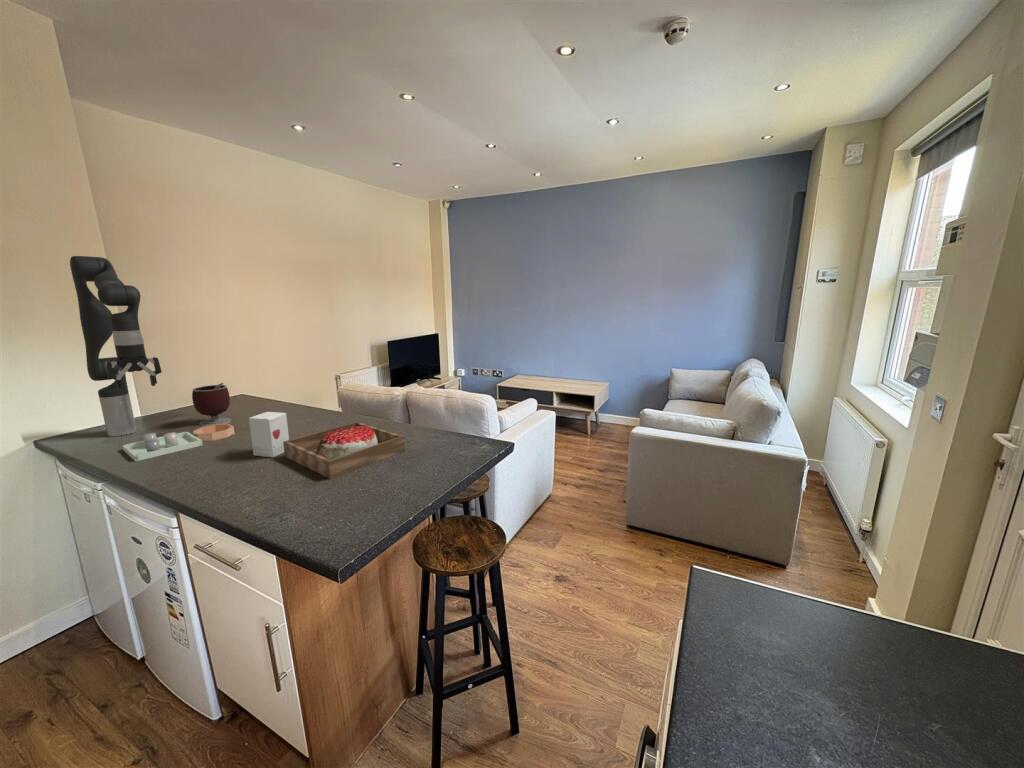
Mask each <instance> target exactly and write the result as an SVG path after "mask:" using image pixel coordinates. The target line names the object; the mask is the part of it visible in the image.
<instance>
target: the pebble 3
mask: <svg viewBox="0 0 1024 768" xmlns="http://www.w3.org/2000/svg"><path fill="white" fill-rule="evenodd" d="M163 436H164V440H165V445H166V448H169V447H173V446H177V445H178V440H177V431H176V432H174V431H173V432H167V433H164V434H163Z"/></svg>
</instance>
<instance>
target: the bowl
mask: <svg viewBox="0 0 1024 768" xmlns="http://www.w3.org/2000/svg"><path fill="white" fill-rule="evenodd" d="M192 435H194V436H196V437H197V438H199V439H201V440H202V442H210V441H217V440H221V439H226V438H229V437H230V436H231V435H235V428H234V425H232V424H230V423H227V424H215V425H214V424H211V425H206V426H202V427H201V426H200V427H199V428H197V429H194V430H193V431H192Z"/></svg>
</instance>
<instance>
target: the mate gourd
mask: <svg viewBox="0 0 1024 768" xmlns="http://www.w3.org/2000/svg"><path fill="white" fill-rule="evenodd" d="M191 395H192V396H191V398H192V404H193V406H194V409H195V411H196V412H198V413H199V414H200V415H201V416H202V415H203V416H208V417H210V419H207V420H206V419H205V420H202V421H201V422H199V423H198V425H199V427H200V428H201V427H205V426H210V425H215V424H230V423H231V422H232V419H231V418H229V417H219V415H221V414H223V413H225V412H226V411H227V410H228V409H229V407H230V404H231V403H230V402H231V397H230V392H229V389H228V387H227V385H225V384H224V382H221V383H218V384H212V385H203V386H198V387H197V386H196V387H195V388H193V389H192V393H191Z"/></svg>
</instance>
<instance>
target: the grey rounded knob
mask: <svg viewBox="0 0 1024 768" xmlns="http://www.w3.org/2000/svg"><path fill="white" fill-rule="evenodd" d="M145 445H146V450H147V452H151V451H156V450H160V444H159V440H149V441H146V442H145Z"/></svg>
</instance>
